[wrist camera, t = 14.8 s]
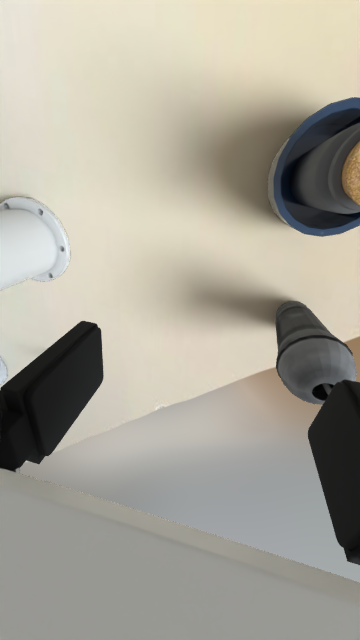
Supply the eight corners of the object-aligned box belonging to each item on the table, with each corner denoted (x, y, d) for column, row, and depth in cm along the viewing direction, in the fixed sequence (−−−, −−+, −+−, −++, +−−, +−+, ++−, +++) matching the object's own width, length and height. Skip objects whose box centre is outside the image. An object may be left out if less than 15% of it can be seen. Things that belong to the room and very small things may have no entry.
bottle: (347, 134, 24) (471, 71, 11) (349, 196, 27) (454, 201, 14) (286, 158, 26) (331, 126, 13) (292, 214, 29) (337, 232, 16)
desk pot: (256, 221, 30) (260, 227, 25) (284, 112, 25) (296, 92, 20) (345, 234, 29) (369, 243, 24) (394, 122, 24) (438, 103, 18)
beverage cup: (283, 283, 33) (331, 384, 16) (331, 305, 33) (433, 429, 16) (256, 325, 37) (272, 443, 20) (300, 344, 37) (354, 479, 20)
